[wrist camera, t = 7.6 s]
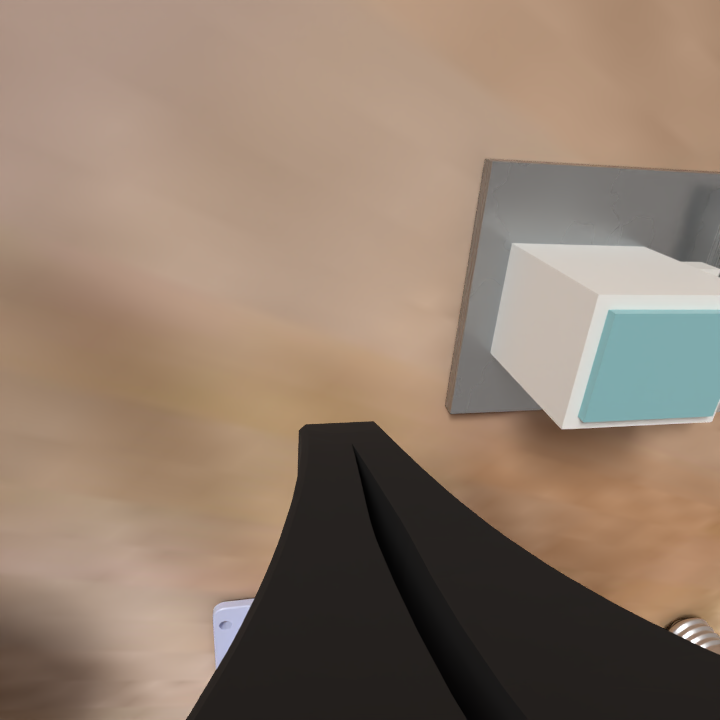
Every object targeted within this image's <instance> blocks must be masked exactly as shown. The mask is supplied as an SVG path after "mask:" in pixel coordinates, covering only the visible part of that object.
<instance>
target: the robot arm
mask: <svg viewBox="0 0 720 720" xmlns="http://www.w3.org/2000/svg"><path fill="white" fill-rule="evenodd" d="M224 621H227V622H224ZM213 628H214V645H215V662H216V671H215V673H214V674H213V676H212V678H211V679H210V681H209V683H208V684H207V686H206V688H205V689H204V691H203V693H202V694H201V696H200V698H199V699H198V701H197V703H196V704H195V706H194V708H193V709H192V711H191V713H190V714H189V716H188V717H187V719H186V720H720V655H719V654H717V653H715V652H712V651H710V650H708V649H706V648H703V647H701V646H699V645H697V644H695V643H693V642H691V641H689V640H686V639H684V638H682V637H680V636H678V635H676V634H674V633H672V632H670V631H668V630H666V629H664V628H662V627H659V626H657V625H655V624H653V623H651V622H649V621H647V620H645V619H643V618H641V617H639V616H637V615H635V614H634V613H632V612H630V611H628V610H626V609H624V608H622V607H620V606H618V605H616V604H614V603H613V602H611V601H609V600H607V599H605V598H604V597H602V596H600V595H598V594H597V593H595V592H593V591H591V590H590V589H588V588H586V587H584V586H583V585H581V584H579V583H577V582H576V581H574V580H572V579H570V578H569V577H567V576H565V575H564V574H562V573H560V572H559V571H557V570H556V569H554V568H552V567H551V566H549V565H547V564H546V563H544V562H543V561H541V560H540V559H538V558H537V557H535V556H534V555H532V554H531V553H529V552H528V551H526V550H525V549H523V548H522V547H520V546H519V545H517V544H516V543H514V542H513V541H512V540H510V539H509V538H507V537H506V536H504V535H503V534H502V533H500V532H499V531H497V530H496V529H495V528H493V527H492V526H491V525H489V524H488V523H487V522H485V521H484V520H483V519H482V518H480V517H479V516H478V515H477V514H475V513H474V512H473V511H471V510H470V509H469V508H468V507H466V506H465V505H464V504H463V503H461V502H460V501H459V500H458V499H457V498H455V497H454V496H453V495H452V494H451V493H449V492H448V491H447V490H446V489H445V488H444V487H443V486H441V485H440V484H439V483H438V482H437V481H436V480H435V479H433V478H432V477H431V476H430V475H429V474H428V473H427V472H426V471H425V470H424V469H422V468H421V467H420V466H419V465H418V464H417V463H416V462H415V461H414V460H413V459H412V458H411V457H410V456H409V455H408V454H407V453H406V452H404V451H403V450H402V449H401V448H400V447H399V446H398V445H397V444H396V443H395V442H394V441H393V440H392V439H391V438H390V437H389V436H388V435H387V434H386V433H385V432H384V431H383V430H382V429H381V428H380V427H379V426H378V425H377V424H376V423H375V422H374V421H372V422H350V423H328V424H306V425H305V426H303V427H302V428H301V429H300V430H299V446H298V477H297V482H296V486H295V490H294V495H293V499H292V503H291V506H290V509H289V512H288V515H287V518H286V521H285V524H284V527H283V530H282V533H281V537H280V539H279V542H278V545H277V547H276V550H275V553H274V555H273V558H272V560H271V563H270V565H269V567H268V570H267V572H266V574H265V577H264V579H263V581H262V583H261V586H260V588H259V590H258V592H257V594H256V596H255V598H254V599H245V600H235V601H226V602H221V603H219V604H218V605H216V606H215V607H214V610H213Z"/></svg>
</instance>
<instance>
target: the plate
mask: <svg viewBox="0 0 720 720" xmlns="http://www.w3.org/2000/svg"><path fill="white" fill-rule="evenodd" d="M719 225H720V172H706V171H688V170H671V169H653V168H636V167H619V166H601V165H584V164H567V163H549V162H532V161H515V160H497V159H485V162H484V168H483V174H482V181H481V187H480V193H479V199H478V205H477V211H476V218H475V224H474V230H473V236H472V242H471V248H470V255H469V261H468V267H467V273H466V279H465V285H464V292H463V298H462V304H461V310H460V316H459V323H458V329H457V335H456V341H455V347H454V353H453V360H452V366H451V372H450V378H449V384H448V390H447V397H446V403H445V406H446V408H447V409H448V411H449V413H450V414H458V413H481V412H503V411H526V410H543V409H542V408H541V407H540V406H539V405H538V404H537V403H536V402H535V400H534V399H533V398H532V397H531V396H530V395H529V394H528V393H527V392H526V391H525V390H524V389H523V388H522V386H521V385H520V384H519V383H518V382H517V381H516V380H515V379H514V378H513V377H512V376H511V375H510V374H509V373H508V371H507V370H506V369H505V368H504V367H503V366H502V365H501V364H500V363H499V362H498V361H497V360H496V359H495V358H494V356H493V355H492V354H491V353H490V352H491V347H492V342H493V336H494V331H495V326H496V321H497V316H498V311H499V306H500V301H501V296H502V291H503V286H504V281H505V275H506V270H507V265H508V260H509V255H510V250H511V245H512V243H528V244H565V245H601V246H638V247H646V248H649V249H651V250H654V251H656V252H659V253H661V254H663V255H666V256H668V257H671V258H673V259H676V260H678V261H680V262H703V263H706V262H707V259H708V256H709V253H710V251H711V248H712V245H713V242H714V239H715V236H716V234H717V231H718V228H719Z"/></svg>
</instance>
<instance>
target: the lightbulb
mask: <svg viewBox="0 0 720 720" xmlns="http://www.w3.org/2000/svg"><path fill="white" fill-rule="evenodd" d="M668 631H670V632H672V633H674V634H676V635H678V636H680V637H682V638H684V639H686V640H689V641H691V642H693V643H695V644H697V645H699V646H701V647H703V648H706V649H708V650H710V651H712V652H715V653H717V654H719V655H720V637H719V635H718V634H716V633H714V630H713V628H712V627H710V626H709V625H708V623H707V622H706V621H705V620H704V619H701V618H690V619H681V620H678V621H676V622H674V623H673V624H672V625H671V627H670V629H669V630H668Z"/></svg>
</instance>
